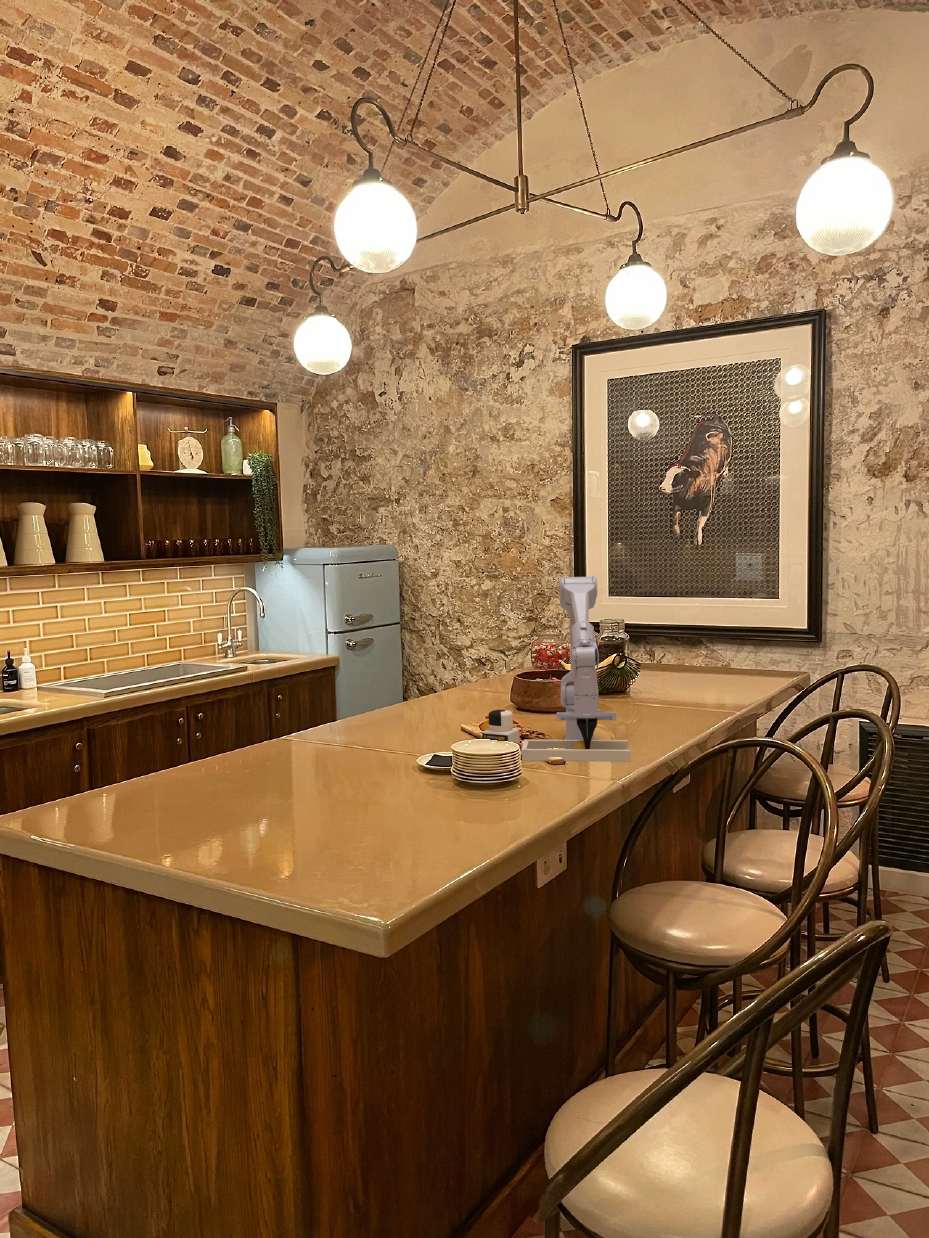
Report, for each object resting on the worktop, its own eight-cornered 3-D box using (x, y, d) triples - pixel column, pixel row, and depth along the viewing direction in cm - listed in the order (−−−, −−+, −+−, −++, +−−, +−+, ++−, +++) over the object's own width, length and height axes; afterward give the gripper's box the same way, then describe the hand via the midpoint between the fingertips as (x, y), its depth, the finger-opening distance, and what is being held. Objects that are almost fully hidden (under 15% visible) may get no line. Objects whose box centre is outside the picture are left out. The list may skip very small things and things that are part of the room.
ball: (589, 748, 239) (576, 756, 238) (582, 735, 238) (568, 743, 238) (594, 752, 235) (580, 761, 234) (586, 739, 234) (572, 748, 234)
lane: (524, 750, 245) (524, 739, 244) (627, 751, 241) (627, 740, 241) (521, 762, 233) (521, 750, 233) (630, 763, 230) (630, 750, 229)
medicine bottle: (482, 759, 236) (481, 712, 235) (494, 753, 242) (493, 707, 241) (508, 762, 233) (507, 714, 232) (520, 756, 239) (519, 709, 238)
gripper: (556, 697, 232) (557, 752, 232) (616, 696, 230) (617, 751, 230) (556, 693, 239) (557, 747, 239) (614, 692, 237) (616, 746, 237)
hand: (587, 749), depth 235 cm, fingers closed, pressing on ball
